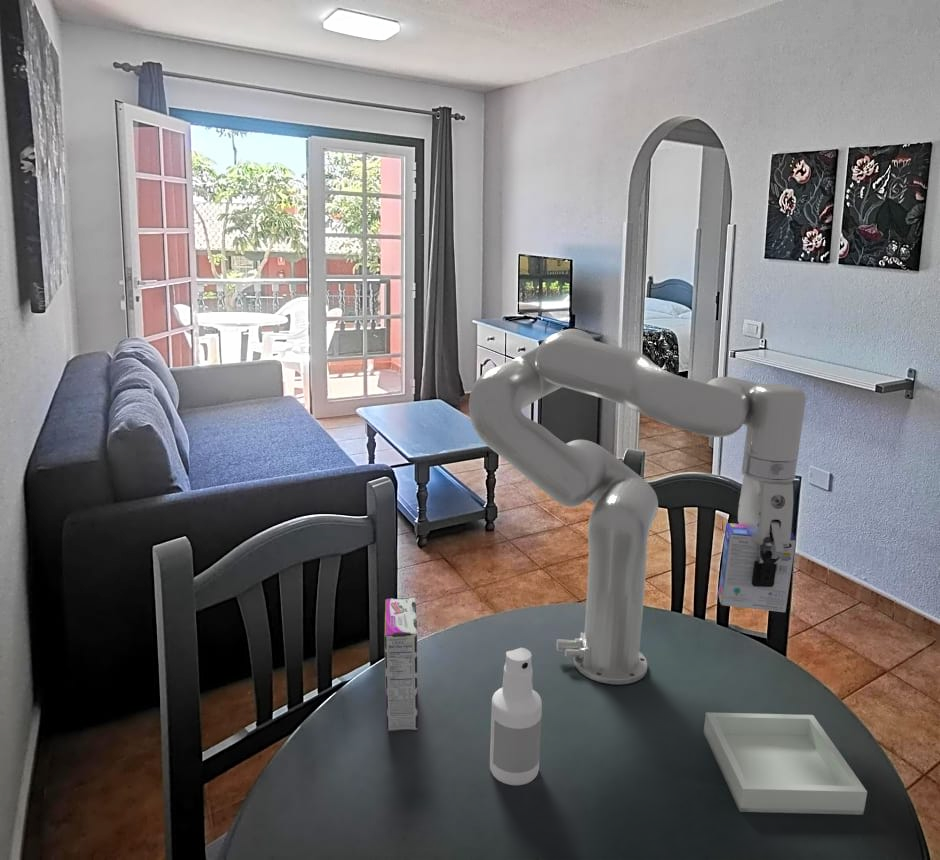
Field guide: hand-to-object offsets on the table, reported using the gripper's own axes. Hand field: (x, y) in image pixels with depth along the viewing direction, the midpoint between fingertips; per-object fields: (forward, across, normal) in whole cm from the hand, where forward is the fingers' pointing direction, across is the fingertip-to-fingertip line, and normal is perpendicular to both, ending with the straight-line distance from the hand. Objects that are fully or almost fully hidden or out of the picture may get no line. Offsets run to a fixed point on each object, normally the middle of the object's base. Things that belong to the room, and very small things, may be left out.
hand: (754, 575), depth 117 cm
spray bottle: (+22, -19, +38) cm, 47 cm away
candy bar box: (+22, -6, +55) cm, 59 cm away
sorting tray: (+21, -18, +1) cm, 28 cm away
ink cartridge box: (+5, 0, 0) cm, 5 cm away
